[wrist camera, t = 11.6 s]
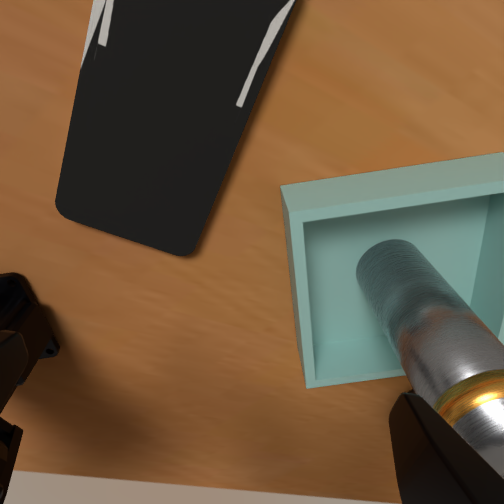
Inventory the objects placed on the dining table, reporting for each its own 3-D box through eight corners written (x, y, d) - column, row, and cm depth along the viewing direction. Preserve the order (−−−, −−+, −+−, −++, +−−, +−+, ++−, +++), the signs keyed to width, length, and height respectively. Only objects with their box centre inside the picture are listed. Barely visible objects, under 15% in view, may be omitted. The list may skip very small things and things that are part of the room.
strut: (372, 307, 24) (479, 510, 14) (341, 262, 22) (438, 455, 12) (433, 274, 23) (599, 466, 13) (407, 224, 21) (574, 400, 11)
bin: (297, 347, 26) (306, 388, 23) (280, 185, 21) (288, 212, 17) (469, 323, 26) (501, 362, 23) (502, 152, 20) (551, 173, 17)
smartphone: (52, 214, 20) (121, -146, 13) (62, 204, 21) (130, -132, 14) (190, 260, 22) (311, -38, 15) (192, 248, 23) (306, -33, 16)
